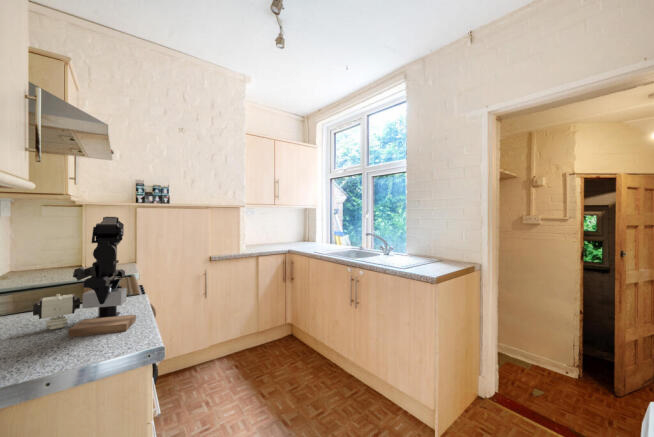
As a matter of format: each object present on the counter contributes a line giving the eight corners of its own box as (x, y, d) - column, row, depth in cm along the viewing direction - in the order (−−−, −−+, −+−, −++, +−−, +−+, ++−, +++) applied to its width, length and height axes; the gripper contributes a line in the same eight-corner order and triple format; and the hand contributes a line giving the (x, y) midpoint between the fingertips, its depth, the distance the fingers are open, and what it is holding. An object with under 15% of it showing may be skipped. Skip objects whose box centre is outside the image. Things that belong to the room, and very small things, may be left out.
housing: (126, 301, 100) (126, 285, 100) (121, 305, 95) (121, 289, 95) (89, 304, 96) (90, 287, 96) (82, 308, 91) (82, 291, 91)
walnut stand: (83, 326, 97) (83, 319, 97) (135, 321, 102) (135, 314, 103) (68, 337, 88) (68, 329, 88) (126, 330, 93) (126, 323, 93)
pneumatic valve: (33, 330, 93) (34, 295, 93) (79, 321, 101) (80, 290, 101) (31, 335, 89) (33, 299, 89) (79, 325, 97) (80, 293, 97)
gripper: (91, 255, 102) (89, 296, 101) (62, 262, 84) (61, 312, 84) (126, 255, 105) (125, 294, 105) (105, 261, 88) (104, 309, 88)
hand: (105, 301), depth 95 cm, fingers closed on housing, 5 cm apart
